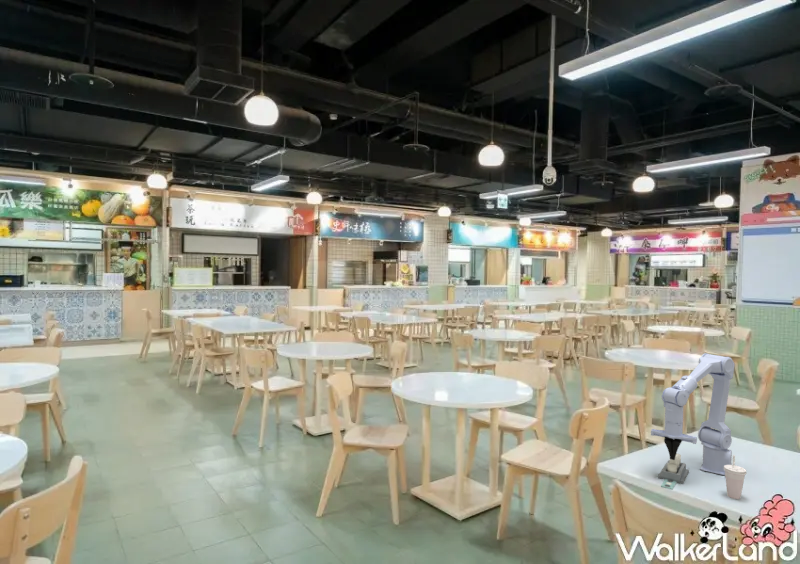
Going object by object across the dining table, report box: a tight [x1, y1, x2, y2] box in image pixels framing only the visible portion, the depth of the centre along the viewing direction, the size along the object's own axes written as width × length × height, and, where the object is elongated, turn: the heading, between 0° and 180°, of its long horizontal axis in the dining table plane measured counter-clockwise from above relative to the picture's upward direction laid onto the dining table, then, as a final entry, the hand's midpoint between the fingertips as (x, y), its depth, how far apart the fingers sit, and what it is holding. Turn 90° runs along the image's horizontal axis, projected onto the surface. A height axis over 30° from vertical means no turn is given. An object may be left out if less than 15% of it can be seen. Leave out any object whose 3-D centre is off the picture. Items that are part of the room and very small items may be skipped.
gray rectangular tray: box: [657, 459, 690, 485], centre depth 185 cm, size 8×14×3 cm, turn 143°
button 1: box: [667, 463, 677, 474], centre depth 182 cm, size 3×3×4 cm
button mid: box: [669, 457, 679, 470], centre depth 185 cm, size 3×3×4 cm
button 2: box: [675, 453, 682, 466], centre depth 189 cm, size 3×3×4 cm
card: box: [660, 479, 677, 490], centre depth 177 cm, size 4×8×1 cm, turn 143°
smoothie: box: [724, 454, 747, 500], centre depth 168 cm, size 6×6×14 cm
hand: (672, 458), depth 182 cm, fingers closed
